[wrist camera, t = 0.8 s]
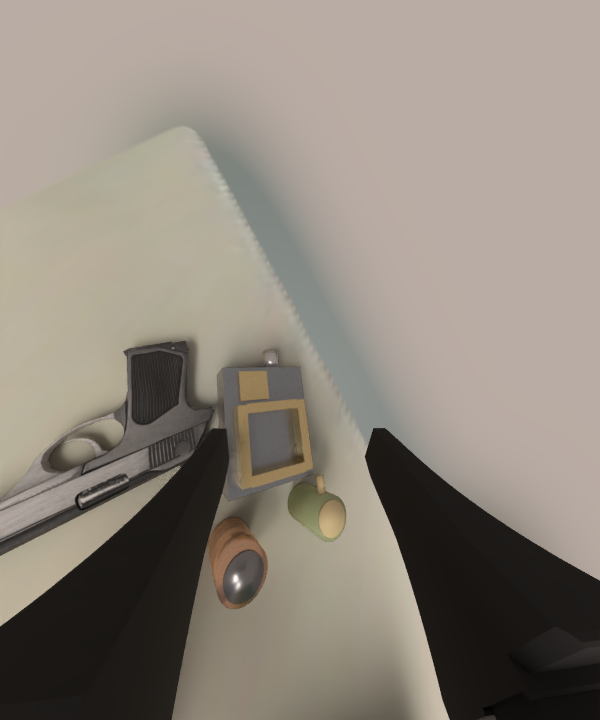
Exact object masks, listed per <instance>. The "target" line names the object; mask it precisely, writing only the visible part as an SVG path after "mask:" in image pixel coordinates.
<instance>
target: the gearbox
mask: <svg viewBox="0 0 600 720" xmlns="http://www.w3.org/2000/svg"><path fill="white" fill-rule="evenodd" d="M263 362H264V367H242V368H222V369H221V370H220V372H219V373H218V374H217V387H218V414H219V428H227V438H228V448H229V465H228V470H227V475H226V480H225V484H224V488H223V491H222V493H223V495H224V496H225V497H226V499H227V500H228V501H231V500H234V499H238V498H241V497H244V496H247V495H250V494H253V493H256V492H260V491H263V490H266V489H269V488H272V487H275V486H278V485H282V484H285V483H288V482H291V481H294V480H297V479H300V478H303V477H307V476H310V475H313V474H314V470H313V462H312V455H311V447H310V439H309V432H308V424H307V417H306V409H305V402H304V394H303V387H302V379H301V371H300V367H279V363H278V354H277V350H274V349H270V350H265V351H263Z"/></svg>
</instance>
